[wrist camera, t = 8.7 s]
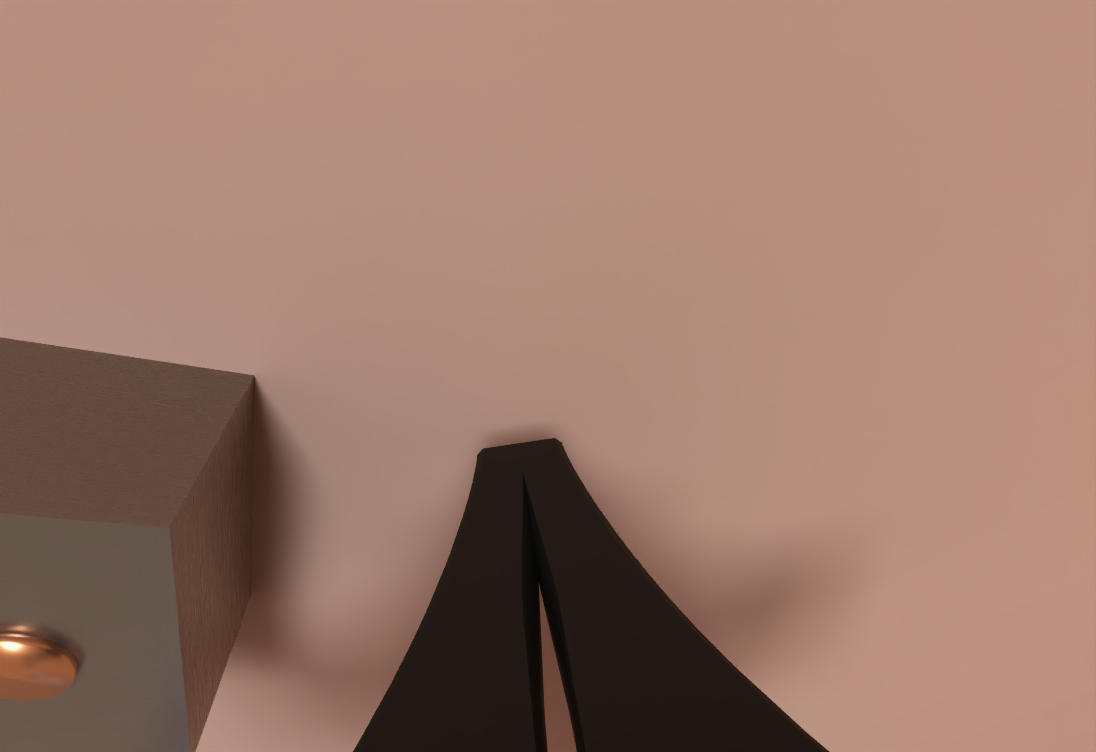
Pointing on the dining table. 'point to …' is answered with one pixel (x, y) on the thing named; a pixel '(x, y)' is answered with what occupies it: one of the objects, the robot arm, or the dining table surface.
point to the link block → (118, 546)
